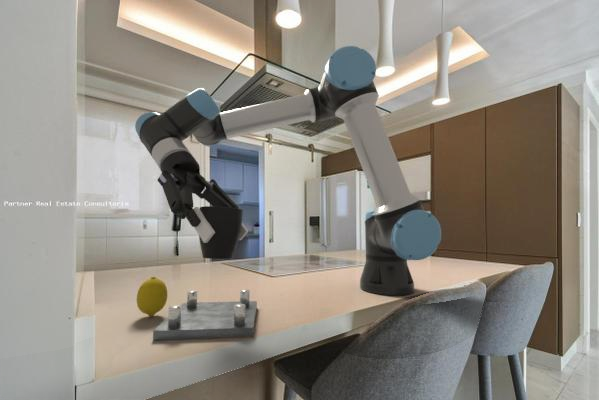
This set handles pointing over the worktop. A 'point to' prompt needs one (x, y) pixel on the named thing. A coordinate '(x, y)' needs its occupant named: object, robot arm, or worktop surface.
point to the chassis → (208, 319)
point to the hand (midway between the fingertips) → (227, 236)
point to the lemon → (152, 296)
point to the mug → (222, 231)
